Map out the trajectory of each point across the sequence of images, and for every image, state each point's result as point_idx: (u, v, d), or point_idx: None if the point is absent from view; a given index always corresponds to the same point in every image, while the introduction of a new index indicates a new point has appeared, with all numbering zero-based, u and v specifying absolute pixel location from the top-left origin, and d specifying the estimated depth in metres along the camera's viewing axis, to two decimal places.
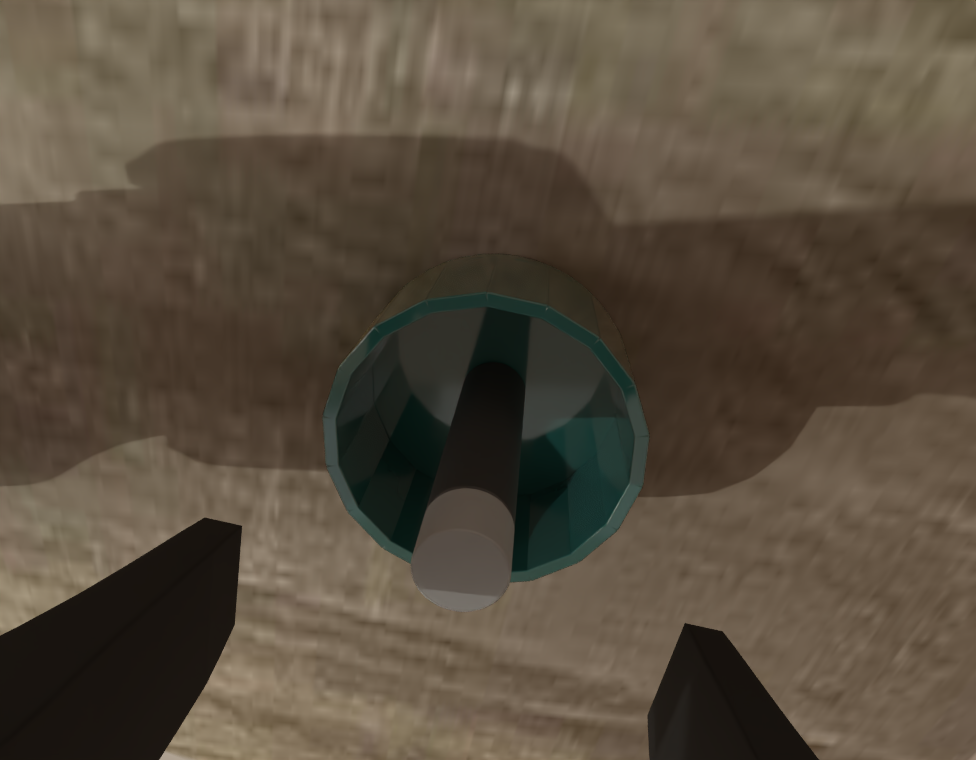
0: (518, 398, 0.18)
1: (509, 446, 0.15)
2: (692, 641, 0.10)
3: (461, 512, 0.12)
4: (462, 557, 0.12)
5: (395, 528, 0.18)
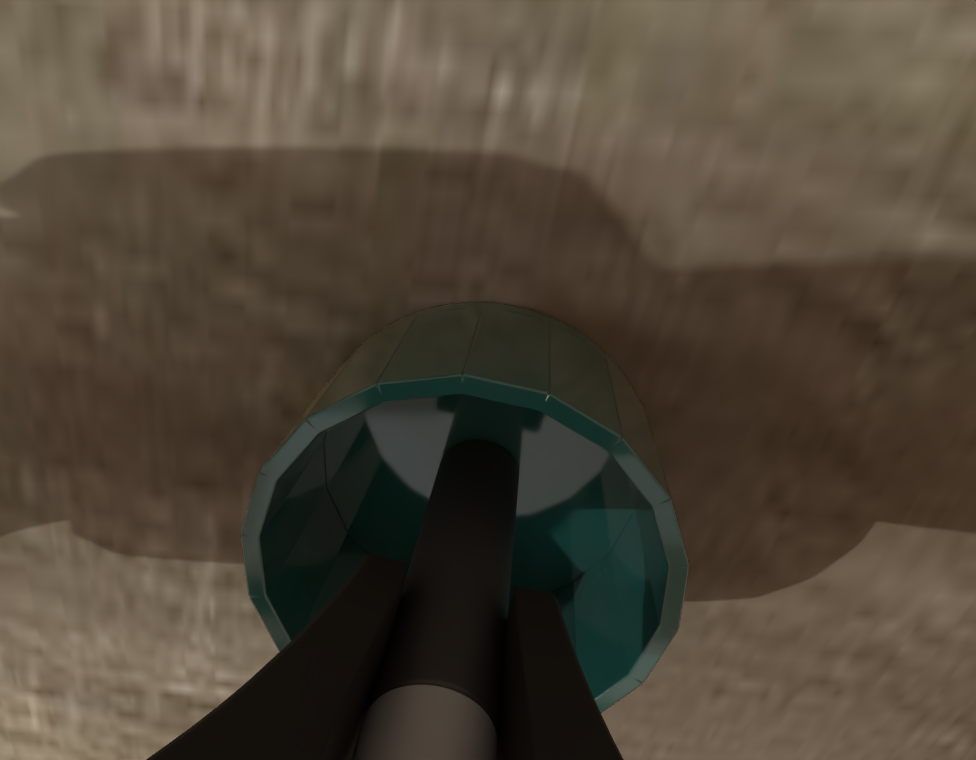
0: (509, 495, 0.14)
1: (493, 586, 0.11)
2: (515, 602, 0.10)
3: (413, 740, 0.08)
4: None
5: None
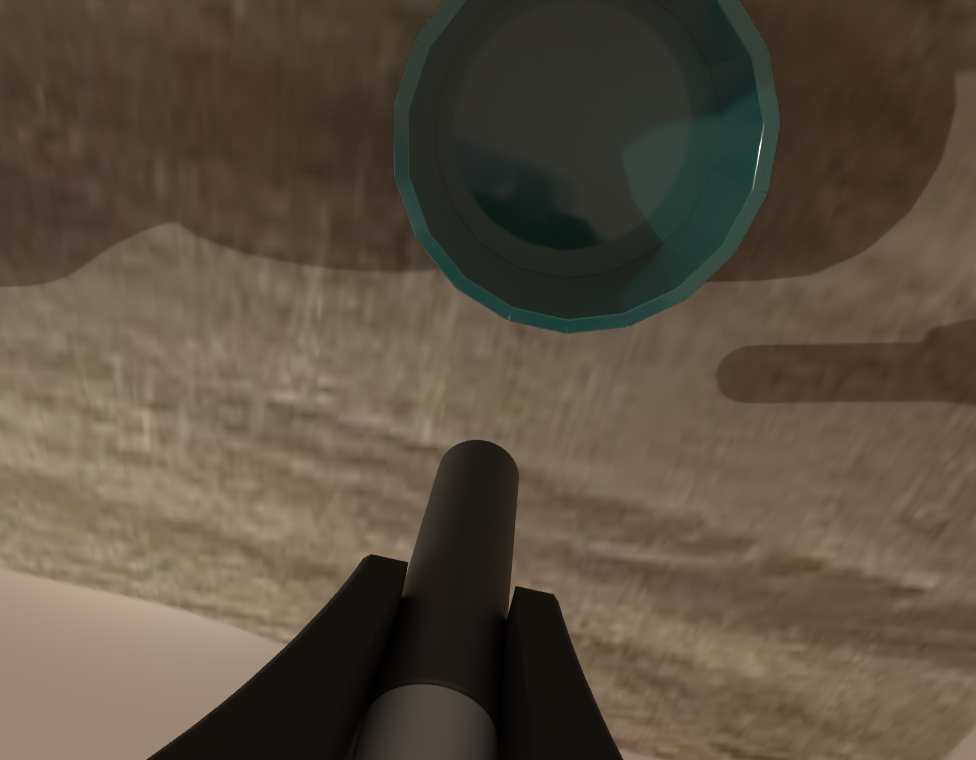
0: (508, 495, 0.14)
1: (493, 585, 0.11)
2: (515, 602, 0.10)
3: (413, 739, 0.08)
4: None
5: (469, 271, 0.16)
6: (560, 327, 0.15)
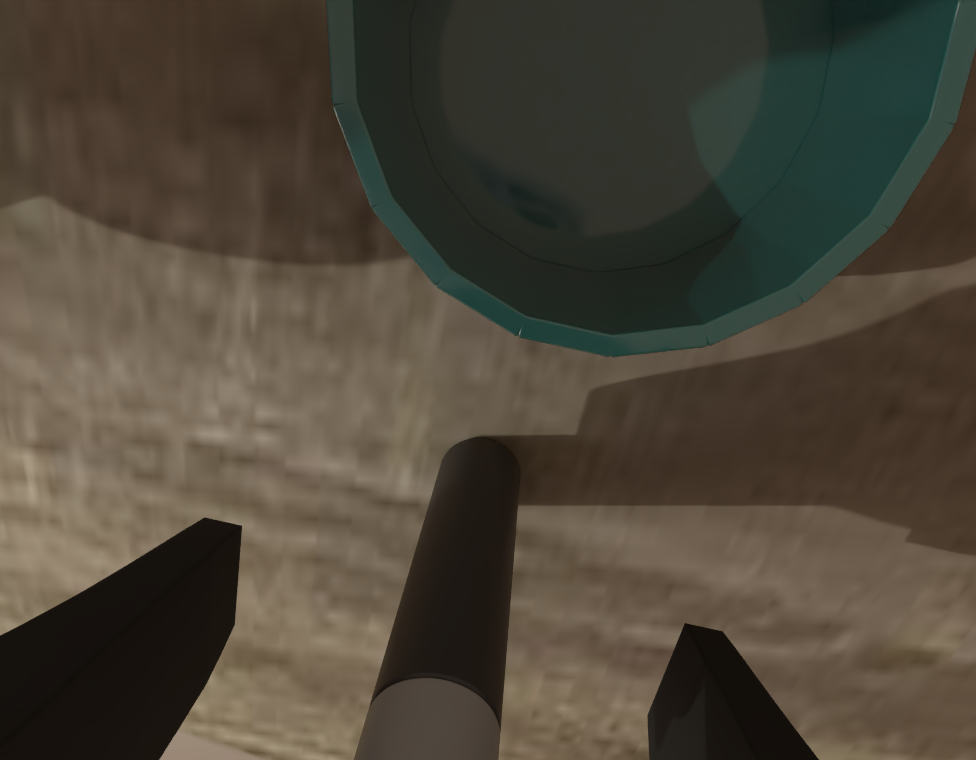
0: (510, 493, 0.14)
1: (495, 582, 0.11)
2: (692, 641, 0.10)
3: (417, 732, 0.08)
4: None
5: (457, 259, 0.10)
6: (600, 347, 0.10)
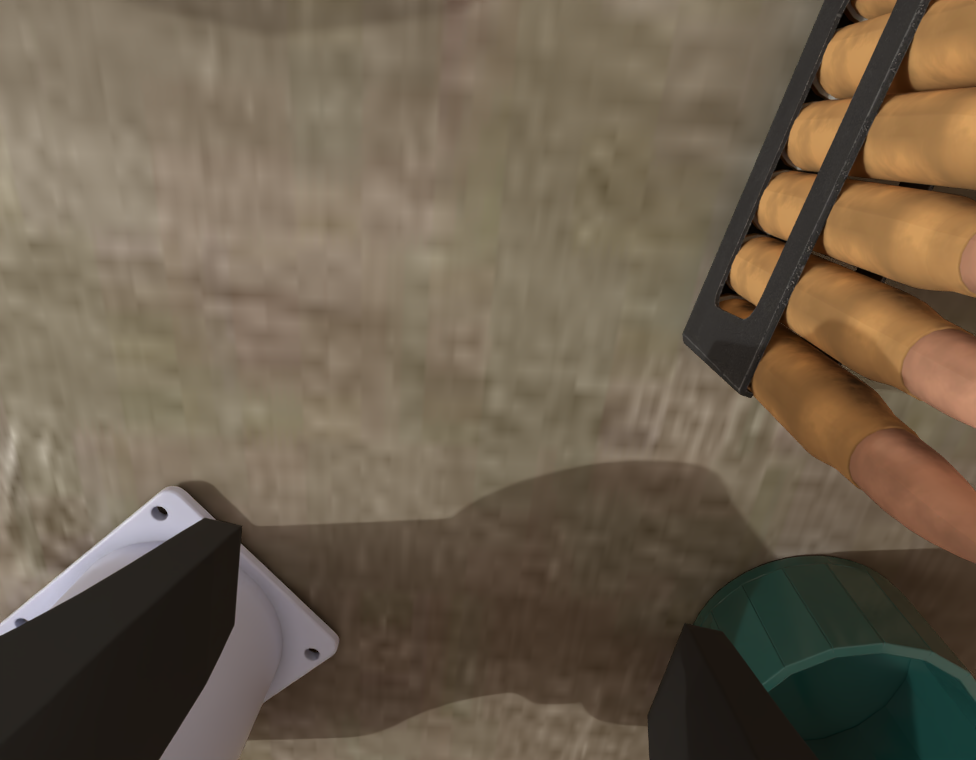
0: None
1: None
2: (692, 641, 0.10)
3: None
4: None
5: None
6: None
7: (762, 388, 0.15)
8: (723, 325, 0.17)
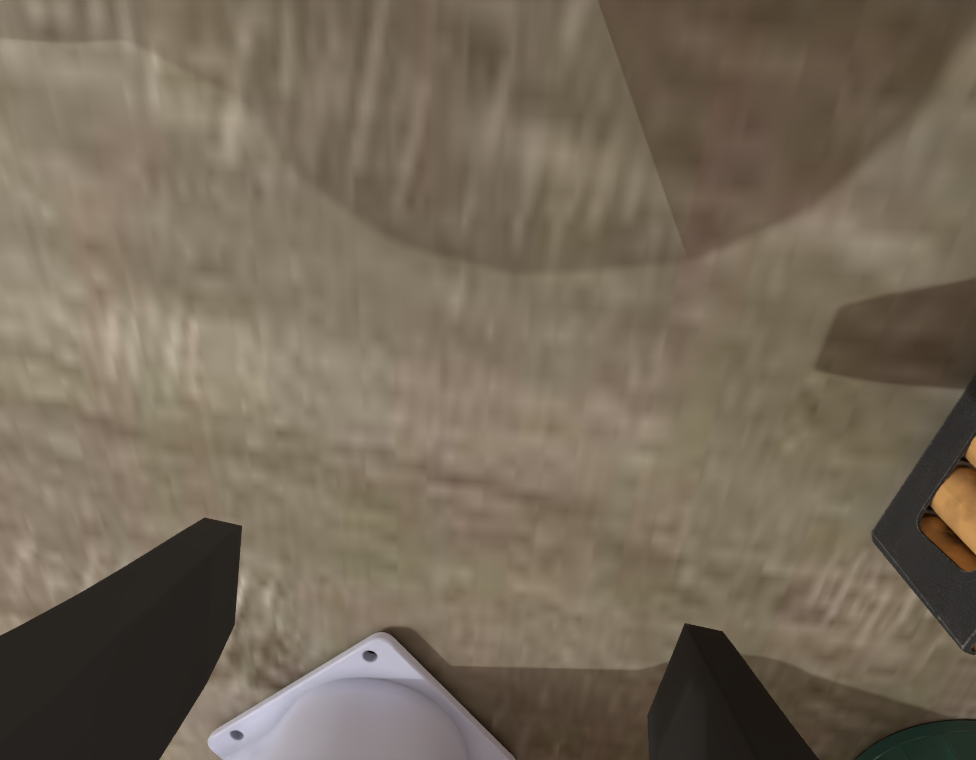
0: None
1: None
2: (692, 641, 0.10)
3: None
4: None
5: None
6: None
7: None
8: (932, 559, 0.19)
